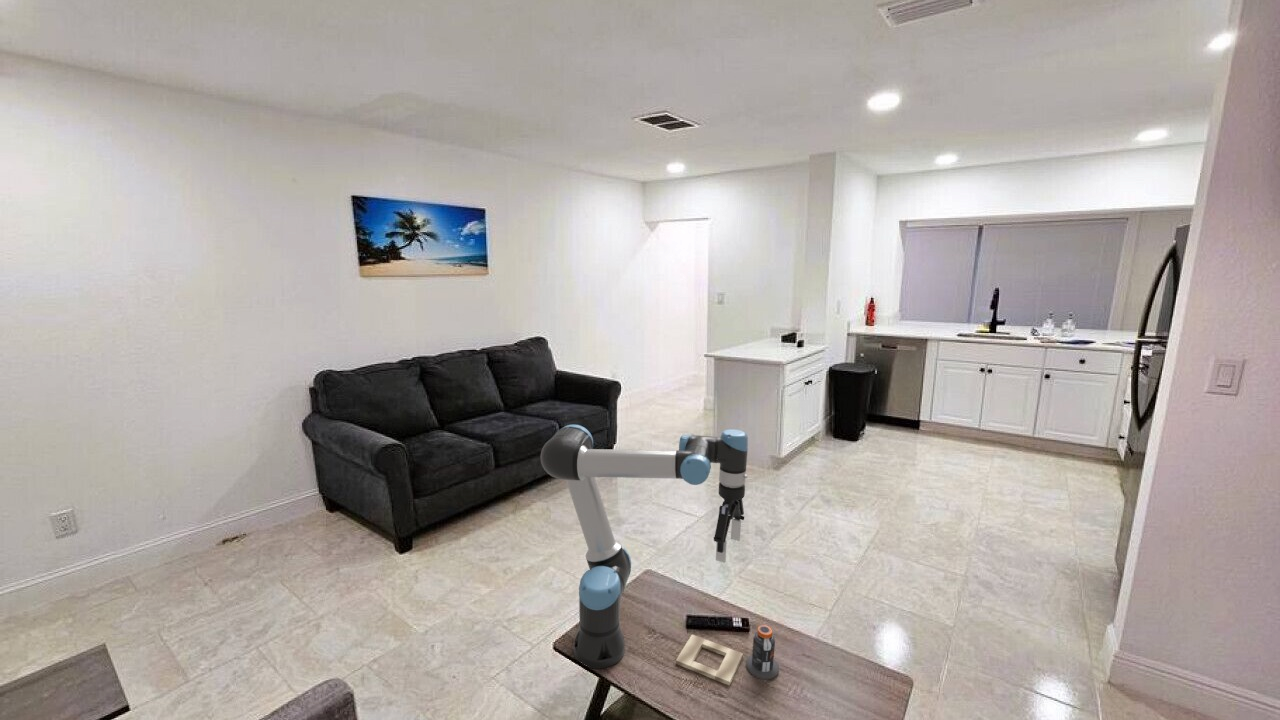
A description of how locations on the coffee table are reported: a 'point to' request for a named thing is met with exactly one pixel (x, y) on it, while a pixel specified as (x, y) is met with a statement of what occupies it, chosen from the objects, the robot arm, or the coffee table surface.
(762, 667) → the pill bottle
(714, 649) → the socket board
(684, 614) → the coffee table surface
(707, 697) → the coffee table surface
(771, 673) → the grey river stone
